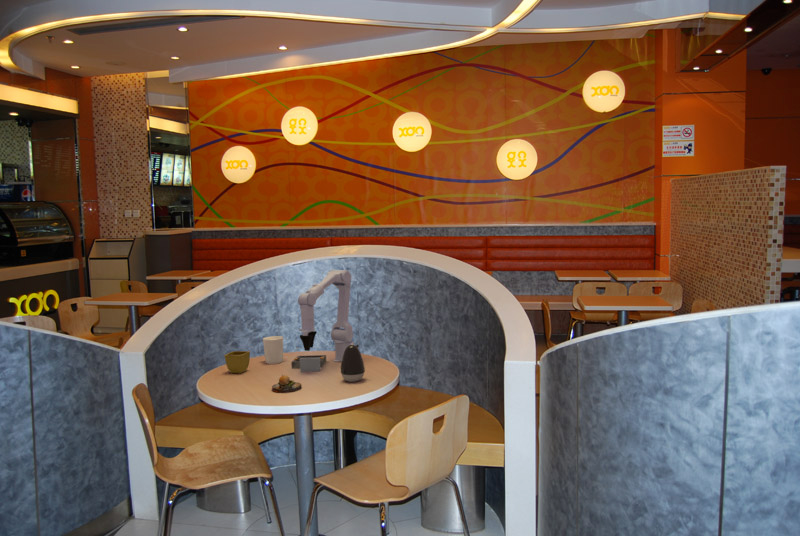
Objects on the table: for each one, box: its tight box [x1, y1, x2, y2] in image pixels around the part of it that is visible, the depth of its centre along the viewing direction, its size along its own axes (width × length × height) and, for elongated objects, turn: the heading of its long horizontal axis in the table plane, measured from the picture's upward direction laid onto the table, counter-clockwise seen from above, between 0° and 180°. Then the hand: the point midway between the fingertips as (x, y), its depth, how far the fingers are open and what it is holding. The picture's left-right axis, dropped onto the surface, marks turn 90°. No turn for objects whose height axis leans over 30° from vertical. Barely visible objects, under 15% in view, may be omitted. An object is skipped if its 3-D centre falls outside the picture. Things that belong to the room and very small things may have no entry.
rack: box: [290, 354, 327, 369], centre depth 294 cm, size 14×14×3 cm
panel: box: [299, 358, 322, 373], centre depth 280 cm, size 9×2×6 cm, turn 87°
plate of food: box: [271, 374, 302, 394], centre depth 251 cm, size 12×12×8 cm
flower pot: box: [223, 350, 251, 374], centre depth 284 cm, size 9×9×9 cm
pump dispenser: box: [340, 344, 366, 383], centre depth 260 cm, size 10×10×15 cm
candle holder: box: [262, 335, 284, 365], centre depth 302 cm, size 10×10×12 cm
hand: (308, 349), depth 280 cm, fingers open, 7 cm apart
